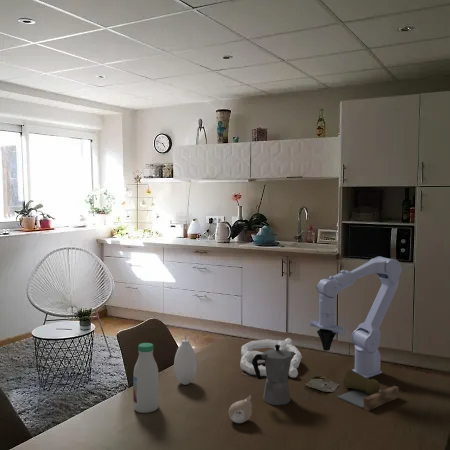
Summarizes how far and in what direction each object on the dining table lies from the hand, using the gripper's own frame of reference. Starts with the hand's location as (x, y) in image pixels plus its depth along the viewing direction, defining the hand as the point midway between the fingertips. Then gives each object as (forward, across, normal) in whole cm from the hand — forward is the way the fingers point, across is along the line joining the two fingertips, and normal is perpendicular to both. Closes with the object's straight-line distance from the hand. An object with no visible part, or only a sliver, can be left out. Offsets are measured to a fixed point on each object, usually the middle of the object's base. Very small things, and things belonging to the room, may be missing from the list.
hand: (326, 349), depth 172 cm
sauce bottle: (+10, -26, -44) cm, 52 cm away
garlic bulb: (+10, +7, -46) cm, 48 cm away
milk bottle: (+10, -18, -64) cm, 67 cm away
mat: (+10, +18, -2) cm, 21 cm away
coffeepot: (+10, +2, -28) cm, 30 cm away
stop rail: (+10, +24, -2) cm, 27 cm away
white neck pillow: (+11, -22, -7) cm, 25 cm away
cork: (+7, +10, 0) cm, 13 cm away
